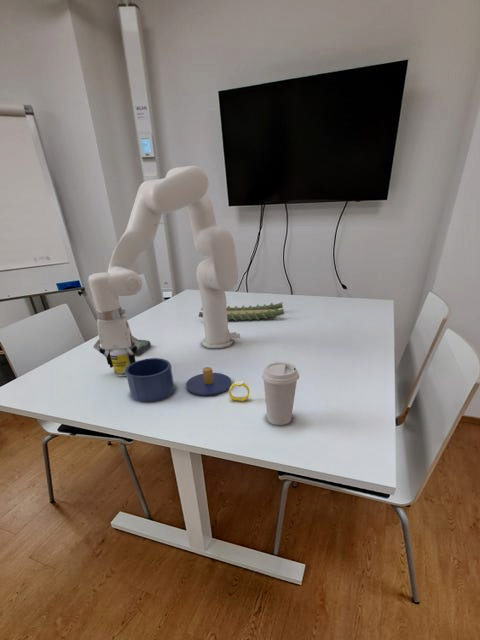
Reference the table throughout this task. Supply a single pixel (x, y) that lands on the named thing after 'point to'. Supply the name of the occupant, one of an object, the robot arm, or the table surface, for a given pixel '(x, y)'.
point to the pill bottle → (119, 360)
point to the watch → (238, 383)
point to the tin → (150, 379)
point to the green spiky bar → (253, 312)
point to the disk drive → (141, 347)
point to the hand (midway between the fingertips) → (122, 364)
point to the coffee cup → (280, 391)
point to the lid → (208, 383)
